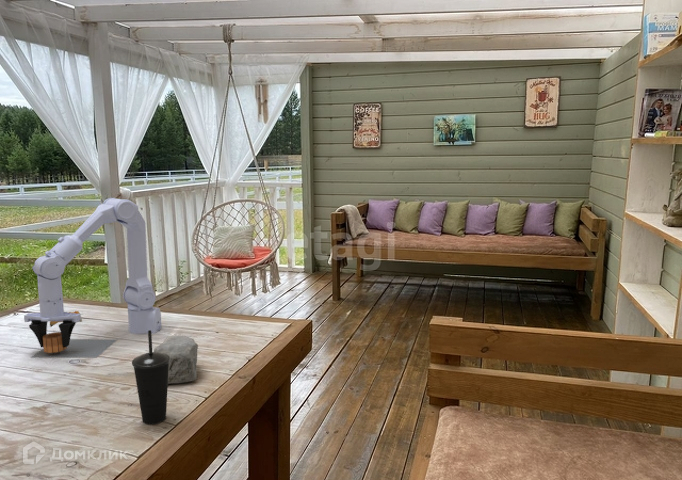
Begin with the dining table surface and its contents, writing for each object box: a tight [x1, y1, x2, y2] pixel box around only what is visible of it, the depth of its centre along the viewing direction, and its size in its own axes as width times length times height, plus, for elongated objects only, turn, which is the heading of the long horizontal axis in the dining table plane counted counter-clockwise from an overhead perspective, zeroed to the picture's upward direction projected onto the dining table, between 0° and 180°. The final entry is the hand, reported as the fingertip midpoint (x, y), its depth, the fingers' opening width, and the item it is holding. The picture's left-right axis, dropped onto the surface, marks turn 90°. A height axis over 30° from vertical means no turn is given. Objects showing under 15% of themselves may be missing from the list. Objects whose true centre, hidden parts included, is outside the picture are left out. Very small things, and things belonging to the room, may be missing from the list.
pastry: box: [49, 310, 83, 327], centre depth 172 cm, size 9×7×4 cm
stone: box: [153, 335, 199, 385], centre depth 131 cm, size 13×12×10 cm
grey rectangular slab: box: [30, 338, 118, 359], centre depth 146 cm, size 18×14×2 cm
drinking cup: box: [131, 330, 170, 426], centre depth 109 cm, size 8×8×20 cm
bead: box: [42, 331, 67, 353], centre depth 142 cm, size 6×6×4 cm
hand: (55, 346), depth 142 cm, fingers closed on bead, 6 cm apart
